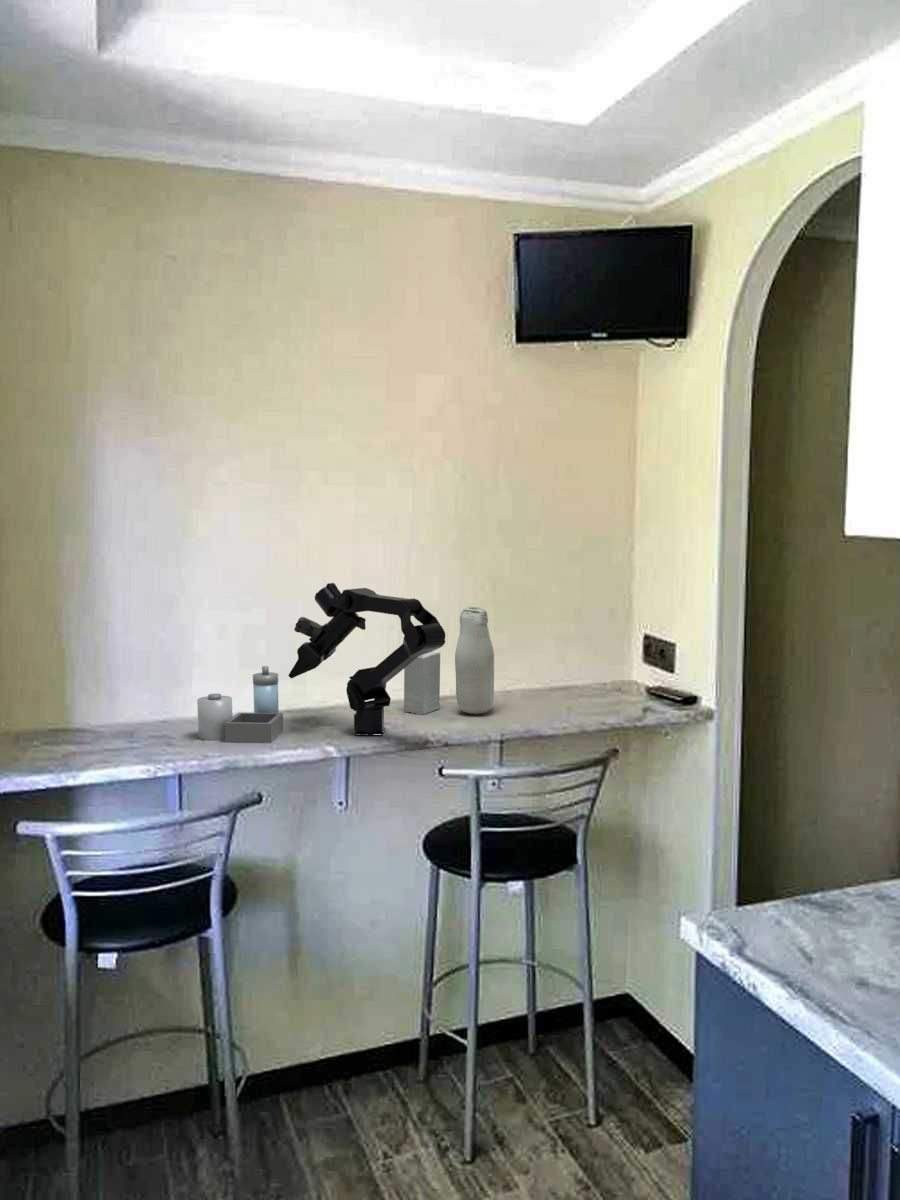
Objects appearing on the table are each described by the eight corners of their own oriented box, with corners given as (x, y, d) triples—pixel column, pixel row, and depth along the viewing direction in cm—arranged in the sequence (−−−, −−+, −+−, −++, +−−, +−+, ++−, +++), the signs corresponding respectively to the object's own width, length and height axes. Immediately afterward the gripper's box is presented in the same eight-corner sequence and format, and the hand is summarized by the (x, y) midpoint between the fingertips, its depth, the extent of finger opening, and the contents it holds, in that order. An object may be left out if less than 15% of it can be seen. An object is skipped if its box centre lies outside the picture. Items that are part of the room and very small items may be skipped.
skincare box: (421, 706, 257) (420, 648, 256) (442, 709, 253) (442, 651, 252) (402, 712, 250) (401, 653, 249) (424, 715, 246) (423, 655, 245)
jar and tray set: (283, 731, 231) (282, 690, 230) (271, 742, 220) (270, 700, 219) (207, 730, 233) (205, 690, 231) (191, 741, 222) (190, 699, 221)
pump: (282, 723, 239) (280, 664, 238) (275, 729, 233) (274, 669, 231) (258, 722, 240) (256, 664, 238) (251, 728, 234) (249, 668, 232)
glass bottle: (497, 710, 252) (497, 605, 249) (489, 718, 242) (489, 610, 239) (461, 708, 255) (460, 604, 252) (451, 716, 245) (451, 609, 242)
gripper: (322, 602, 241) (280, 644, 243) (305, 610, 223) (260, 656, 225) (353, 632, 242) (311, 675, 244) (339, 644, 223) (294, 689, 225)
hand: (294, 673), depth 234 cm, fingers open, 9 cm apart
